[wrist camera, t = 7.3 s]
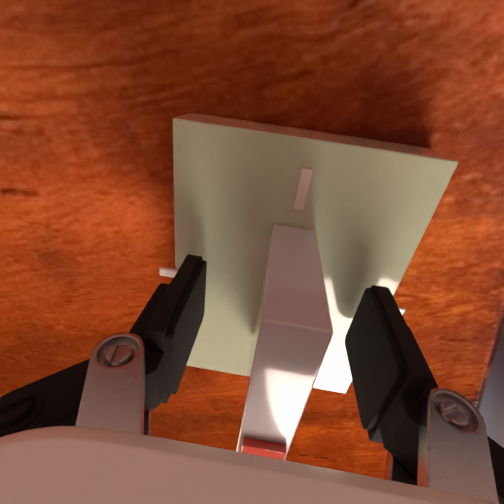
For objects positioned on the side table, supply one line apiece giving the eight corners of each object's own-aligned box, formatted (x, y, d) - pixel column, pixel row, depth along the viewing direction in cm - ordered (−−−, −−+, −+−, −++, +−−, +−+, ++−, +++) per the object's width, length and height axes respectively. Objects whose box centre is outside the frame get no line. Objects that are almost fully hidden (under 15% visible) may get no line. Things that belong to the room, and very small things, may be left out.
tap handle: (272, 222, 11) (260, 328, 6) (316, 229, 10) (336, 341, 6) (252, 337, 14) (233, 463, 9) (285, 343, 14) (284, 472, 9)
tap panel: (174, 109, 11) (151, 115, 9) (448, 150, 11) (482, 165, 9) (177, 333, 17) (164, 364, 15) (350, 364, 17) (357, 399, 15)
